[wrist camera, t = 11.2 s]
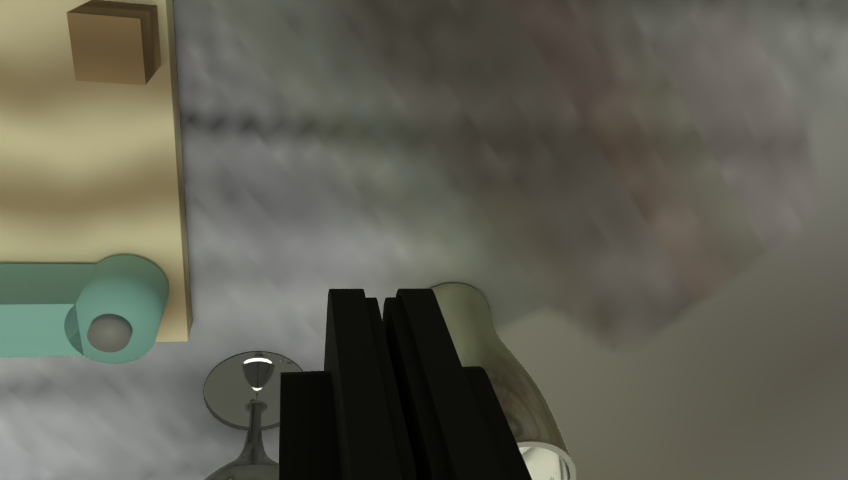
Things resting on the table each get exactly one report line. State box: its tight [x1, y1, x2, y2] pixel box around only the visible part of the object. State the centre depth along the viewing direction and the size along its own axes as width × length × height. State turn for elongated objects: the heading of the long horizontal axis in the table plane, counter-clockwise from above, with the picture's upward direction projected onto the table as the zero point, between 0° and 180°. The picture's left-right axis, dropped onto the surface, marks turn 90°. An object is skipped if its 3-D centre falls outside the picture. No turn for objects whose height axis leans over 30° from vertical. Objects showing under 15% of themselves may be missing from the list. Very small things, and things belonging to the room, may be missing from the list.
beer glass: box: [431, 283, 576, 480], centre depth 38 cm, size 7×7×15 cm
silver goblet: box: [203, 351, 303, 480], centre depth 38 cm, size 8×8×15 cm
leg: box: [0, 255, 169, 364], centre depth 33 cm, size 14×4×5 cm, turn 83°
